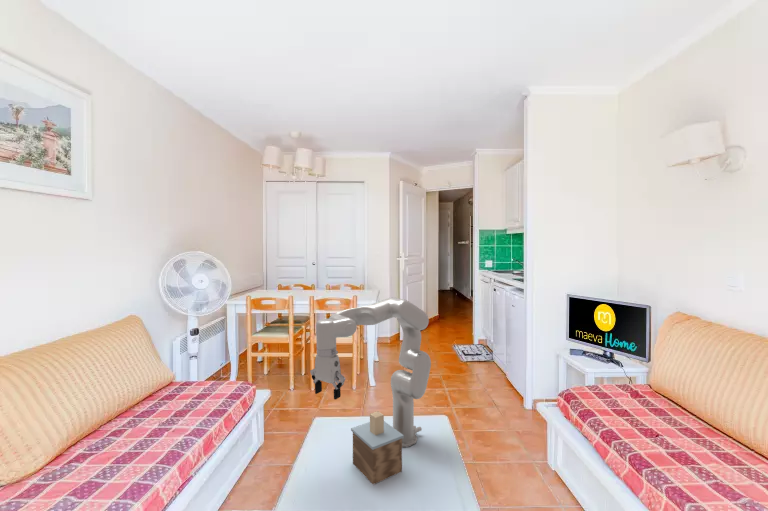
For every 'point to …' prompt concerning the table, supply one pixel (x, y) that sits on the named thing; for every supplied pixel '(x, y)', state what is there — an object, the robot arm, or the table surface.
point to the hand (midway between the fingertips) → (327, 395)
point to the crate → (377, 459)
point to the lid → (377, 432)
